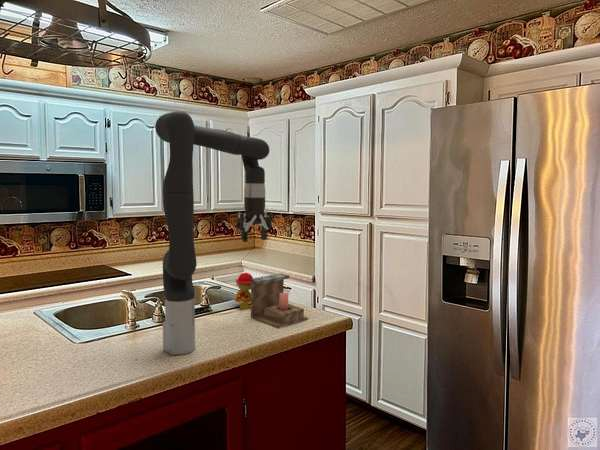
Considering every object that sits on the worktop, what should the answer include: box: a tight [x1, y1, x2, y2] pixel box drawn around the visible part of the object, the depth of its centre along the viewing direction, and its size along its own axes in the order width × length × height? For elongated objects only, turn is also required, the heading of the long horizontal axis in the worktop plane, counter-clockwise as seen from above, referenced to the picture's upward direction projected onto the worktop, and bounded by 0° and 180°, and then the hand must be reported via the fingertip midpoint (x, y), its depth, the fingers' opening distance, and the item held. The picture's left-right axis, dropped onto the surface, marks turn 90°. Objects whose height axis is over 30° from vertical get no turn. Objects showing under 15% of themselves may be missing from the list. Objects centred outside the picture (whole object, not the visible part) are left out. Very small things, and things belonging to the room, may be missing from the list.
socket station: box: [250, 273, 309, 329], centre depth 176 cm, size 16×16×16 cm
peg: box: [279, 291, 289, 311], centre depth 174 cm, size 4×4×10 cm
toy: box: [234, 272, 254, 310], centre depth 191 cm, size 11×9×15 cm
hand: (254, 240), depth 161 cm, fingers open, 8 cm apart
